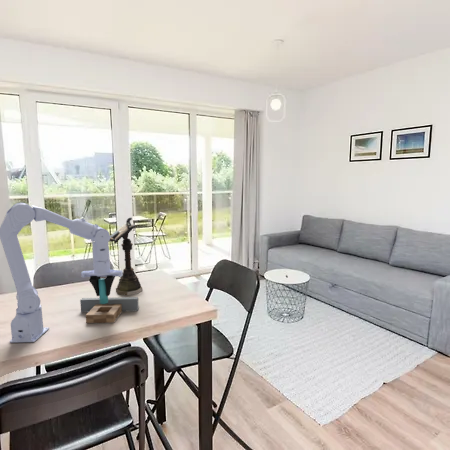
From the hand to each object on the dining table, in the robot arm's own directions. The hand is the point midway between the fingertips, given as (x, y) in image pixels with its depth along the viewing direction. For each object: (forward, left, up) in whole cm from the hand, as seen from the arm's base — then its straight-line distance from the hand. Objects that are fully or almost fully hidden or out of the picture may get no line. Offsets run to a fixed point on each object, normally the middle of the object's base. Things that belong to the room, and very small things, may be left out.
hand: (103, 295), depth 120 cm
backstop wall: (+7, 0, -9) cm, 11 cm away
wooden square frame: (0, 0, -9) cm, 9 cm away
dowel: (0, 0, -3) cm, 3 cm away
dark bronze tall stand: (+27, 0, -9) cm, 28 cm away
